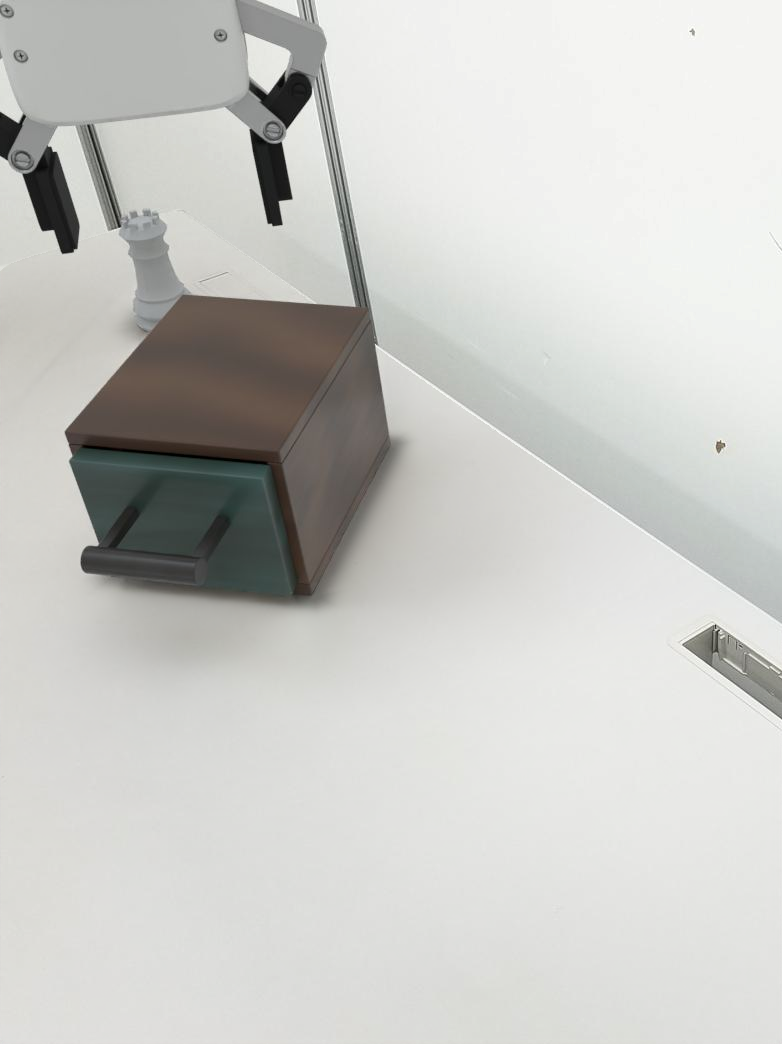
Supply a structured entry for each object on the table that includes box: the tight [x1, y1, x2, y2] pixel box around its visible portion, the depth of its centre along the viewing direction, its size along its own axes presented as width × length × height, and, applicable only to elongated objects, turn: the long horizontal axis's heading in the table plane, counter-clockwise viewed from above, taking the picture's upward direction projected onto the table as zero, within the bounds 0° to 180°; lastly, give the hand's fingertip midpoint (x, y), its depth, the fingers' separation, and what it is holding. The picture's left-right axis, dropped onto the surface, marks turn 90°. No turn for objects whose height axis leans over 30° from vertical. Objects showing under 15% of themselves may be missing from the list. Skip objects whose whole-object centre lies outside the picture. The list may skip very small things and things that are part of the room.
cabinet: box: [64, 294, 391, 596], centre depth 72 cm, size 15×12×10 cm
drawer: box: [68, 447, 298, 597], centre depth 69 cm, size 18×10×8 cm, turn 170°
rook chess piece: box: [118, 208, 193, 333], centre depth 90 cm, size 4×4×8 cm
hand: (174, 227), depth 62 cm, fingers open, 9 cm apart
